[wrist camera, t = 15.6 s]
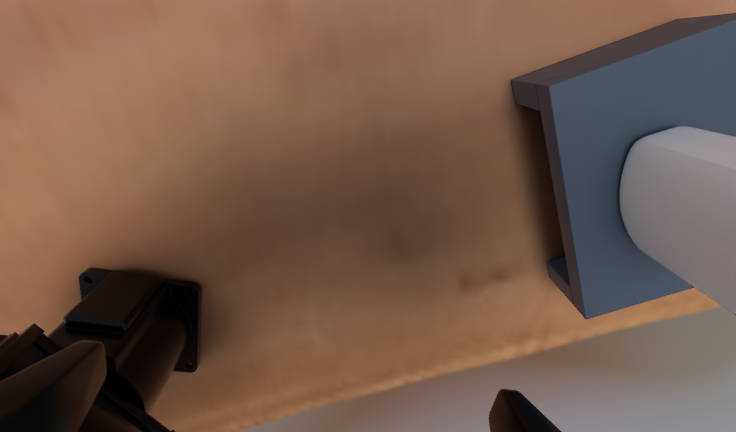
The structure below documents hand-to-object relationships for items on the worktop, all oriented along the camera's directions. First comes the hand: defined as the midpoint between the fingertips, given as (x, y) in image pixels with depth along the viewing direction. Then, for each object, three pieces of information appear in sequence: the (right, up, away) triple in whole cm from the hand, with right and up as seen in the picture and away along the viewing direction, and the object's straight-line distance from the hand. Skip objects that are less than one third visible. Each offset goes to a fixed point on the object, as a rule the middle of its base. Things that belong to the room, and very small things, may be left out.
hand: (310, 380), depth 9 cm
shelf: (+14, +7, +12) cm, 20 cm away
